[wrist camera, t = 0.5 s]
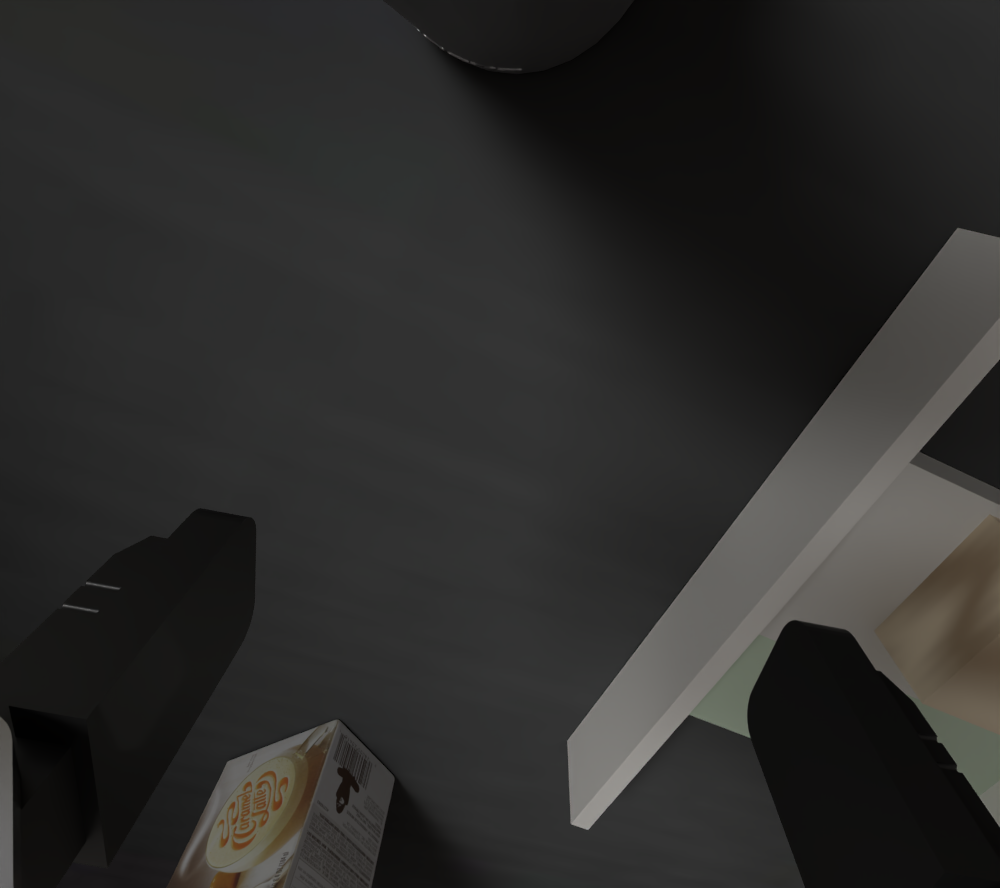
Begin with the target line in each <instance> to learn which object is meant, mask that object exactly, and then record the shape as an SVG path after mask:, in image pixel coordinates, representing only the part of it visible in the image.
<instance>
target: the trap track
mask: <svg viewBox="0 0 1000 888" xmlns="http://www.w3.org/2000/svg"><path fill="white" fill-rule="evenodd" d="M999 360H1000V238H999V237H994V236H990V235H986V234H982V233H978V232H973V231H969V230H965V229H961V228H957V229H956V231H955V232H954V233H953V234H952V236H951V237H950V238H949V240H948V241H947V242H946V244H945V245H944V246H943V248H942V249H941V250H940V252H939V253H938V254H937V256H936V257H935V258H934V259H933V261H932V262H931V263H930V265H929V266H928V267H927V269H926V270H925V271H924V273H923V274H922V275H921V277H920V278H919V279H918V280H917V282H916V283H915V284H914V286H913V287H912V288H911V290H910V291H909V292H908V294H907V295H906V296H905V298H904V299H903V300H902V302H901V303H900V304H899V305H898V307H897V308H896V309H895V311H894V312H893V313H892V315H891V316H890V317H889V319H888V320H887V321H886V323H885V324H884V325H883V326H882V328H881V329H880V330H879V332H878V333H877V334H876V336H875V337H874V338H873V340H872V341H871V342H870V344H869V345H868V346H867V348H866V349H865V350H864V351H863V353H862V354H861V355H860V357H859V358H858V359H857V361H856V362H855V363H854V365H853V366H852V367H851V369H850V370H849V371H848V372H847V374H846V375H845V376H844V378H843V379H842V380H841V382H840V383H839V384H838V386H837V387H836V388H835V390H834V391H833V392H832V394H831V395H830V396H829V397H828V399H827V400H826V401H825V403H824V404H823V405H822V407H821V408H820V409H819V411H818V412H817V413H816V415H815V416H814V417H813V418H812V420H811V421H810V422H809V424H808V425H807V426H806V428H805V429H804V430H803V432H802V433H801V434H800V436H799V437H798V438H797V440H796V441H795V442H794V443H793V445H792V446H791V447H790V449H789V450H788V451H787V453H786V454H785V455H784V457H783V458H782V459H781V461H780V462H779V463H778V464H777V466H776V467H775V468H774V470H773V471H772V472H771V474H770V475H769V476H768V478H767V479H766V480H765V482H764V483H763V484H762V486H761V487H760V488H759V489H758V491H757V492H756V493H755V495H754V496H753V497H752V499H751V500H750V501H749V503H748V504H747V505H746V507H745V508H744V509H743V510H742V512H741V513H740V514H739V516H738V517H737V518H736V520H735V521H734V522H733V524H732V525H731V526H730V528H729V529H728V530H727V532H726V533H725V534H724V535H723V537H722V538H721V539H720V541H719V542H718V543H717V545H716V546H715V547H714V549H713V550H712V551H711V553H710V554H709V555H708V556H707V558H706V559H705V560H704V562H703V563H702V564H701V566H700V567H699V568H698V570H697V571H696V572H695V574H694V575H693V576H692V578H691V579H690V580H689V581H688V583H687V584H686V585H685V587H684V588H683V589H682V591H681V592H680V593H679V595H678V596H677V597H676V599H675V600H674V601H673V602H672V604H671V605H670V606H669V608H668V609H667V610H666V612H665V613H664V614H663V616H662V617H661V618H660V620H659V621H658V622H657V624H656V625H655V626H654V627H653V629H652V630H651V631H650V633H649V634H648V635H647V637H646V638H645V639H644V641H643V642H642V643H641V645H640V646H639V647H638V648H637V650H636V651H635V652H634V654H633V655H632V656H631V658H630V659H629V660H628V662H627V663H626V664H625V666H624V667H623V668H622V670H621V671H620V672H619V673H618V675H617V676H616V677H615V679H614V680H613V681H612V683H611V684H610V685H609V687H608V688H607V689H606V691H605V692H604V693H603V695H602V696H601V697H600V698H599V700H598V701H597V702H596V704H595V705H594V706H593V708H592V709H591V710H590V712H589V713H588V714H587V716H586V717H585V718H584V719H583V721H582V722H581V723H580V725H579V726H578V727H577V729H576V730H575V731H574V733H573V734H572V735H571V737H570V738H569V739H568V741H567V743H568V767H569V791H570V815H571V824H572V825H575V826H578V827H581V828H584V829H587V830H588V829H589V828H590V827H591V826H592V825H593V823H594V822H595V821H596V820H597V819H598V818H599V817H600V815H601V814H602V813H603V812H604V811H605V810H606V809H607V807H608V806H609V805H610V804H611V803H612V802H613V801H614V799H615V798H616V797H617V796H618V795H619V794H620V793H621V791H622V790H623V789H624V788H625V787H626V786H627V785H628V783H629V782H630V781H631V780H632V779H633V778H634V777H635V775H636V774H637V773H638V772H639V771H640V770H641V769H642V767H643V766H644V765H645V764H646V763H647V762H648V761H649V759H650V758H651V757H652V756H653V755H654V754H655V753H656V751H657V750H658V749H659V748H660V747H661V746H662V745H663V743H664V742H665V741H666V740H667V739H668V738H669V737H670V735H671V734H672V733H673V732H674V731H675V730H676V729H677V727H678V726H679V725H680V724H681V723H682V722H683V721H684V719H685V718H686V717H687V716H688V715H691V716H694V717H697V718H699V719H702V720H704V721H707V722H710V723H712V724H715V725H718V726H720V727H723V728H725V729H728V730H731V731H733V732H736V733H739V734H741V735H744V736H746V737H749V738H751V737H750V734H749V730H748V723H747V709H748V702H749V698H750V694H751V692H752V689H753V687H754V685H755V683H756V681H757V679H758V677H759V675H760V673H761V671H762V669H763V667H764V665H765V663H766V661H767V659H768V657H769V655H770V653H771V651H772V649H773V647H774V645H775V643H776V641H777V639H778V637H779V635H780V633H781V631H782V629H783V627H784V626H785V625H786V624H787V623H788V622H790V621H792V620H798V621H803V622H809V623H814V624H819V625H825V626H830V627H836V628H841V629H845V630H847V631H849V632H850V633H851V634H852V635H853V636H854V637H855V639H856V640H857V642H858V643H859V645H860V646H861V648H862V649H863V651H864V653H865V654H866V656H867V657H868V659H869V660H870V662H871V663H872V665H873V666H874V668H875V669H876V670H877V671H881V672H882V673H883V674H884V675H885V676H886V677H888V678H889V679H890V680H891V681H892V682H893V683H894V684H895V685H896V686H897V687H898V688H899V689H900V690H901V691H903V692H904V693H905V694H906V695H907V696H908V697H909V698H910V699H911V700H912V701H913V702H914V703H915V704H916V706H917V707H918V709H919V710H920V712H921V713H922V714H923V716H924V717H925V719H926V720H927V722H928V723H929V725H930V726H931V728H932V729H933V731H934V732H935V733H936V735H937V736H938V737H937V742H938V743H942V744H943V745H944V747H945V748H946V749H947V751H948V752H949V754H950V755H951V757H952V758H953V760H954V761H955V763H956V764H957V771H958V772H960V773H963V774H964V776H965V777H966V779H967V780H968V782H969V783H970V784H971V786H972V787H973V789H974V790H975V792H976V793H977V795H978V796H979V798H980V799H981V801H982V802H983V803H984V805H985V806H986V808H987V809H988V811H989V812H990V814H991V815H992V817H993V818H994V819H995V821H996V822H997V824H998V825H999V827H1000V735H998V734H996V733H994V732H991V731H989V730H986V729H984V728H981V727H979V726H976V725H974V724H971V723H969V722H966V721H964V720H962V719H959V718H957V717H954V716H952V715H949V714H947V713H944V712H942V711H939V710H937V709H934V708H932V707H930V706H927V705H925V704H922V703H921V701H920V700H919V698H918V697H917V695H916V694H915V692H914V691H913V689H912V688H911V686H910V685H909V683H908V682H907V680H906V679H905V677H904V676H903V674H902V672H901V671H900V669H899V668H898V666H897V665H896V663H895V662H894V660H893V659H892V657H891V656H890V654H889V653H888V651H887V650H886V648H885V647H884V645H883V644H882V642H881V641H880V639H879V638H878V636H877V635H876V633H875V632H874V630H875V629H876V628H877V627H878V626H879V625H880V624H881V623H882V622H883V621H884V620H885V619H886V618H887V617H888V616H889V615H890V614H891V613H892V612H893V611H894V610H895V609H896V608H897V607H898V606H899V605H900V604H901V603H902V602H903V601H904V600H905V599H906V598H907V597H908V596H909V595H910V594H911V593H912V592H913V591H914V590H915V589H916V588H917V587H918V586H919V585H920V584H921V583H922V582H923V581H924V580H925V579H926V578H927V577H928V576H929V575H930V574H931V573H932V572H933V571H934V570H935V569H936V568H937V567H938V566H939V565H940V564H941V563H942V562H943V561H944V560H945V559H946V558H947V557H948V556H949V555H950V554H951V553H952V552H953V551H954V550H955V549H956V548H957V547H958V546H959V545H960V544H961V543H962V542H963V541H964V540H965V539H966V538H967V537H968V536H969V535H970V534H971V533H972V532H973V531H974V530H975V529H976V528H977V527H978V526H979V525H980V524H981V522H982V521H983V520H984V519H985V518H986V517H987V516H988V515H989V514H990V515H992V516H994V517H997V518H999V519H1000V490H999V489H997V488H995V487H993V486H991V485H989V484H986V483H984V482H982V481H980V480H978V479H976V478H974V477H972V476H969V475H967V474H965V473H963V472H961V471H959V470H957V469H955V468H953V467H950V466H948V465H946V464H944V463H942V462H940V461H938V460H936V459H934V458H931V457H929V456H927V455H925V454H923V453H921V452H919V451H920V450H921V449H922V448H923V446H924V445H925V444H926V443H927V442H928V441H929V440H930V438H931V437H932V436H933V435H934V434H935V433H936V432H937V430H938V429H939V428H940V427H941V426H942V425H943V424H944V422H945V421H946V420H947V419H948V418H949V417H950V416H951V414H952V413H953V412H954V411H955V410H956V409H957V408H958V406H959V405H960V404H961V403H962V402H963V401H964V400H965V398H966V397H967V396H968V395H969V394H970V393H971V392H972V390H973V389H974V388H975V387H976V386H977V385H978V384H979V382H980V381H981V380H982V379H983V378H984V377H985V376H986V374H987V373H988V372H989V371H990V370H991V369H992V368H993V366H994V365H995V364H996V363H997V362H998V361H999Z"/></svg>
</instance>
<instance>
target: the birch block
mask: <svg viewBox="0 0 1000 888" xmlns="http://www.w3.org/2000/svg"><path fill="white" fill-rule="evenodd" d="M874 632H875V633H876V635H877V636H878V638H879V639H880V641H881V642H882V644H883V645H884V647H885V648H886V650H887V651H888V653H889V654H890V656H891V657H892V659H893V660H894V662H895V663H896V665H897V666H898V668H899V669H900V671H901V672H902V674H903V676H904V677H905V679H906V680H907V682H908V683H909V685H910V686H911V688H912V689H913V691H914V692H915V694H916V695H917V697H918V698H919V700H920V701H921V703H922V704H925V705H927V706H930V707H932V708H934V709H937V710H939V711H942V712H944V713H947V714H949V715H952V716H954V717H957V718H959V719H962V720H964V721H966V722H969V723H971V724H974V725H976V726H979V727H981V728H984V729H986V730H989V731H991V732H994V733H996V734H998V735H1000V519H999V518H997V517H994V516H992V515H990V514H989V515H988V516H987V517H986V518H985V519H984V520H983V521H982V522H981V524H980V525H979V526H978V527H977V528H976V529H975V530H974V531H973V532H972V533H971V534H970V535H969V536H968V537H967V538H966V539H965V540H964V541H963V542H962V543H961V544H960V545H959V546H958V547H957V548H956V549H955V550H954V551H953V552H952V553H951V554H950V555H949V556H948V557H947V558H946V559H945V560H944V561H943V562H942V563H941V564H940V565H939V566H938V567H937V568H936V569H935V570H934V571H933V572H932V573H931V574H930V575H929V576H928V577H927V578H926V579H925V580H924V581H923V582H922V583H921V584H920V585H919V586H918V587H917V588H916V589H915V590H914V591H913V592H912V593H911V594H910V595H909V596H908V597H907V598H906V599H905V600H904V601H903V602H902V603H901V604H900V605H899V606H898V607H897V608H896V609H895V610H894V611H893V612H892V613H891V614H890V615H889V616H888V617H887V618H886V619H885V620H884V621H883V622H882V623H881V624H880V625H879V626H878V627H877V628H876V629H875V630H874Z"/></svg>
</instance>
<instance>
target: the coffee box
mask: <svg viewBox="0 0 1000 888" xmlns="http://www.w3.org/2000/svg"><path fill="white" fill-rule="evenodd" d="M394 781H395V778H394V776H393V775H392V774H391V772H390V771H389V770H388V769H387V768H386V767H385V766H384V765H383V764H382V763H381V762H380V761H379V760H378V759H377V758H376V757H375V756H374V755H373V754H372V753H371V752H370V751H369V750H368V749H367V748H366V747H365V746H364V745H363V744H362V743H361V742H360V741H359V740H358V738H357V737H356V736H355V735H354V734H352V733H351V732H350V730H349V729H348V728H347V727H346V726H345V725H344V724H343V723H342V722H341V721H340V720H334V721H331V722H328V723H326V724H323V725H320V726H318V727H316V728H313V729H310V730H308V731H305V732H302V733H300V734H297V735H295V736H292V737H289V738H287V739H284V740H282V741H279V742H277V743H274V744H271V745H269V746H266V747H263V748H261V749H258V750H256V751H253V752H251V753H248V754H246V755H243V756H241V757H238V758H235V759H233V760H230V761H228V762H227V764H226V766H225V768H224V771H223V773H222V775H221V777H220V779H219V781H218V783H217V785H216V787H215V789H214V791H213V793H212V795H211V797H210V799H209V801H208V803H207V805H206V807H205V809H204V812H203V814H202V816H201V817H200V820H199V822H198V824H197V826H196V828H195V830H194V832H193V834H192V837H191V839H190V841H189V843H188V845H187V846H186V849H185V851H184V853H183V855H182V857H181V859H180V861H179V863H178V866H177V867H176V869H175V872H174V874H173V876H172V878H171V880H170V882H169V884H168V886H167V887H166V888H371V887H372V882H373V877H374V873H375V868H376V863H377V859H378V854H379V849H380V845H381V840H382V836H383V831H384V827H385V822H386V817H387V813H388V808H389V804H390V800H391V795H392V790H393V785H394Z"/></svg>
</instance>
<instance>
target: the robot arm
mask: <svg viewBox="0 0 1000 888" xmlns="http://www.w3.org/2000/svg"><path fill="white" fill-rule="evenodd" d="M383 1H384V2H386V3H387V4H388V5H389V6H391V7H392V8H393V9H394V10H395V11H397V12H398V13H399V14H400V15H401V16H403V17H404V18H405V19H406V20H408V21H409V22H410V23H411V24H412V25H413V26H415V27H416V29H417V30H418V31H419V32H421V33H422V34H423V35H424V36H425V37H426V38H427V39H429V40H430V41H431V42H433V43H434V44H435V45H437V46H438V47H439V48H441V49H442V50H443V51H445V52H446V51H447V53H448V54H450V55H452V56H454V57H456V58H458V59H460V60H461V61H463V62H466V63H469V64H471V65H474V66H477V67H479V68H482V69H485V70H487V71H493V72H502V73H510V74H522V73H530V72H537V71H544V70H547V69H550V68H552V67H555V66H558V65H560V64H563V63H565V62H568V61H571V60H572V59H574V58H575V57H577V56H578V55H580V54H581V53H583V52H584V51H586V50H587V49H589V48H590V47H592V46H593V45H595V44H596V43H597V42H598V41H599V40H600V39H601V38H602V37H603V36H604V35H605V34H606V33H607V32H608V31H609V30H610V29H611V28H612V27H613V26H614V25H615V24H616V23H617V22H618V21H619V20H620V19H621V17H622V16H623V15H624V13H625V12H626V11H627V9H628V8H629V6H630V5H631V4H632V2H633V1H634V0H383ZM255 565H256V525H255V521H254V520H253V519H252V518H250V517H244V516H239V515H234V514H228V513H223V512H217V511H212V510H207V509H201V508H200V509H197V510H195V511H194V512H193V513H192V514H191V515H190V516H189V517H188V518H187V519H186V520H185V521H184V522H183V523H182V524H181V525H180V526H179V527H178V528H177V529H176V530H175V531H174V532H173V533H172V535H171V536H170V537H169V538H168V539H166V538H161V537H155V536H150V537H148V538H146V539H144V540H142V541H140V542H138V543H136V544H134V545H132V546H130V547H128V548H126V549H124V550H122V551H120V552H118V553H116V554H114V555H113V556H112V557H111V558H110V559H109V560H108V561H107V562H106V563H105V564H104V565H103V566H102V567H101V568H99V569H98V570H97V571H96V572H95V573H94V574H93V575H92V576H91V577H90V578H89V579H88V580H87V583H86V585H85V586H81V587H80V588H79V589H77V590H76V591H75V592H74V593H73V594H72V595H71V596H70V597H69V598H68V599H67V600H66V601H65V602H64V604H63V607H62V609H57V610H55V611H54V612H53V613H52V614H51V615H50V616H49V617H48V618H47V619H46V620H45V621H44V622H43V623H42V624H41V625H40V626H39V627H38V628H37V629H36V630H35V631H33V632H32V633H31V634H30V635H29V636H28V637H27V638H26V639H25V640H24V641H23V642H22V643H21V644H20V645H19V646H18V647H17V648H16V649H15V650H14V651H13V652H11V653H10V654H9V655H8V656H7V657H6V658H5V659H4V660H3V661H2V662H1V663H0V888H56V887H57V885H58V884H59V882H60V881H61V879H62V878H63V876H64V875H65V873H66V872H67V870H68V869H69V867H70V866H71V864H72V862H73V863H79V864H85V865H91V866H97V867H103V868H108V867H109V865H110V863H111V862H112V860H113V858H114V857H115V855H116V853H117V852H118V850H119V848H120V847H121V845H122V843H123V842H124V840H125V838H126V837H127V835H128V833H129V832H130V830H131V828H132V827H133V825H134V823H135V822H136V820H137V818H138V817H139V815H140V813H141V812H142V810H143V808H144V807H145V805H146V803H147V802H148V800H149V798H150V797H151V795H152V793H153V792H154V790H155V788H156V787H157V785H158V783H159V782H160V780H161V778H162V776H163V775H164V773H165V771H166V770H167V768H168V766H169V765H170V763H171V761H172V760H173V758H174V756H175V755H176V753H177V751H178V750H179V748H180V746H181V745H182V743H183V741H184V740H185V738H186V736H187V735H188V733H189V731H190V730H191V728H192V726H193V725H194V723H195V721H196V720H197V718H198V716H199V715H200V713H201V711H202V710H203V708H204V706H205V705H206V703H207V701H208V700H209V698H210V696H211V695H212V693H213V691H214V690H215V688H216V686H217V685H218V683H219V681H220V680H221V678H222V676H223V675H224V673H225V671H226V669H227V668H228V666H229V664H230V663H231V661H232V659H233V658H234V656H235V654H236V653H237V651H238V649H239V648H240V646H241V644H242V642H243V641H244V638H245V636H246V634H247V631H248V629H249V626H250V622H251V619H252V615H253V610H254V603H255ZM747 723H748V730H749V734H750V737H751V740H752V743H753V746H754V749H755V751H756V754H757V757H758V760H759V762H760V765H761V768H762V771H763V773H764V776H765V779H766V782H767V784H768V787H769V790H770V792H771V795H772V798H773V801H774V803H775V806H776V809H777V812H778V814H779V817H780V820H781V823H782V825H783V828H784V831H785V834H786V836H787V839H788V842H789V845H790V847H791V850H792V853H793V855H794V858H795V861H796V864H797V866H798V869H799V872H800V875H801V877H802V880H803V883H804V886H805V888H1000V827H999V825H998V824H997V822H996V821H995V819H994V818H993V817H992V815H991V814H990V812H989V811H988V809H987V808H986V806H985V805H984V803H983V802H982V801H981V799H980V798H979V796H978V795H977V793H976V792H975V790H974V789H973V787H972V786H971V784H970V783H969V782H968V780H967V779H966V777H965V776H964V774H963V773H960V772H958V771H957V764H956V763H955V761H954V760H953V758H952V757H951V755H950V754H949V752H948V751H947V749H946V748H945V747H944V745H943V744H942V743H938V742H937V737H938V736H937V735H936V733H935V732H934V731H933V729H932V728H931V726H930V725H929V723H928V722H927V720H926V719H925V717H924V716H923V714H922V713H921V712H920V710H919V709H918V707H917V706H916V704H915V703H914V702H913V701H912V700H911V699H910V698H909V697H908V696H907V695H906V694H905V693H904V692H903V691H901V690H900V689H899V688H898V687H897V686H896V685H895V684H894V683H893V682H892V681H891V680H890V679H889V678H888V677H886V676H885V675H884V674H883V673H882V672H881V671H877V670H876V669H875V668H874V666H873V665H872V663H871V662H870V660H869V659H868V657H867V656H866V654H865V653H864V651H863V649H862V648H861V646H860V645H859V643H858V642H857V640H856V639H855V637H854V636H853V635H852V634H851V633H850V632H849V631H847V630H845V629H841V628H836V627H830V626H825V625H819V624H814V623H809V622H803V621H798V620H792V621H790V622H788V623H787V624H786V625H785V626H784V627H783V629H782V631H781V633H780V635H779V637H778V639H777V641H776V643H775V645H774V647H773V649H772V651H771V653H770V655H769V657H768V659H767V661H766V663H765V665H764V667H763V669H762V671H761V673H760V675H759V677H758V679H757V681H756V683H755V685H754V687H753V689H752V692H751V694H750V698H749V702H748V709H747Z"/></svg>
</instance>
